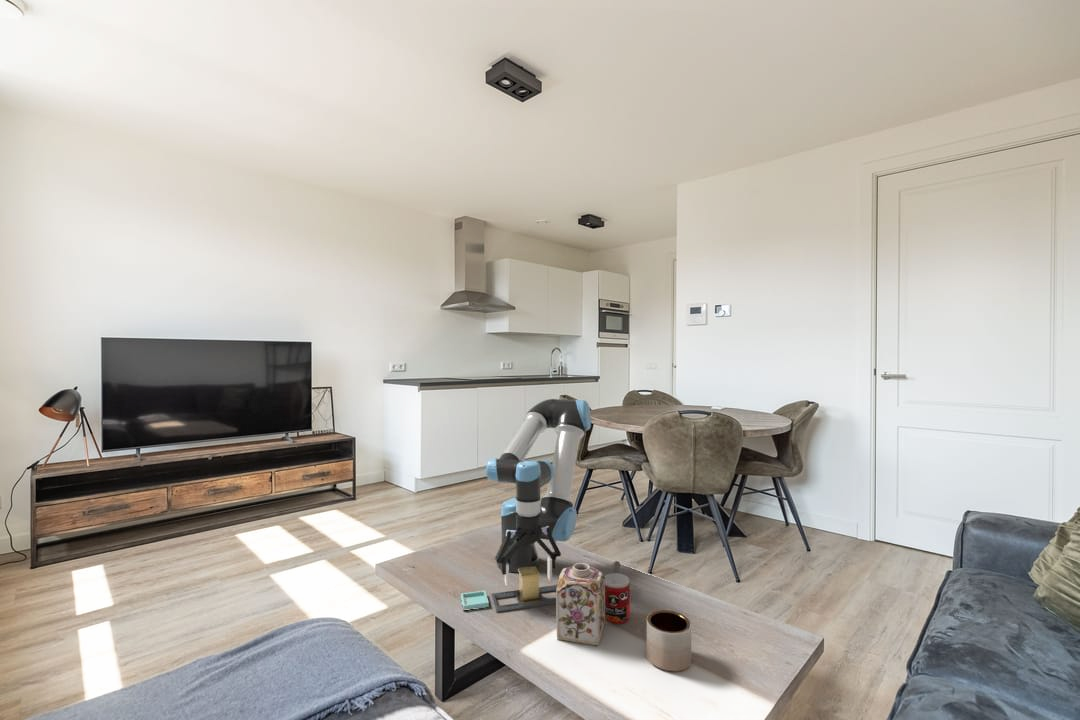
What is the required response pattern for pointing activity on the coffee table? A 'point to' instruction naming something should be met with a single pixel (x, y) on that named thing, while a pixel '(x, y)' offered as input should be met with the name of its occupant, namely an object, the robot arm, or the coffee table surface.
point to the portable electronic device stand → (615, 568)
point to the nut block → (528, 584)
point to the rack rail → (524, 604)
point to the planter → (668, 640)
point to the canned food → (617, 598)
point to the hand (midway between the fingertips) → (528, 581)
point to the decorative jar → (580, 604)
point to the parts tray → (475, 600)
